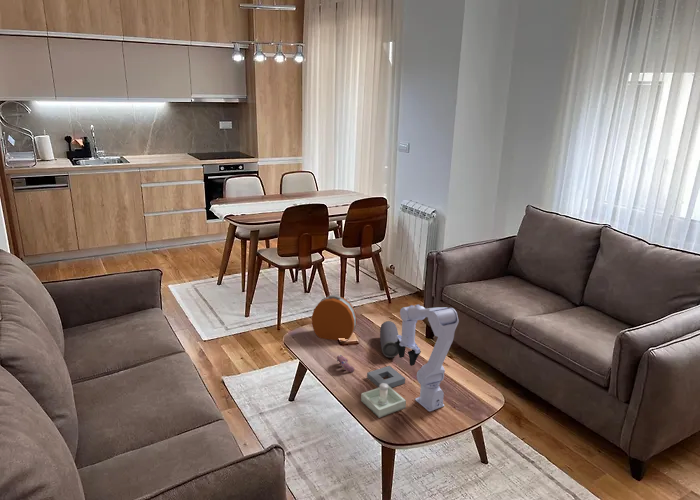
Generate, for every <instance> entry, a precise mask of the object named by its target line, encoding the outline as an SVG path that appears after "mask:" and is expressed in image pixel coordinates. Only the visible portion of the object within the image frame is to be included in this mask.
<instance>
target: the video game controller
mask: <svg viewBox="0 0 700 500" xmlns="http://www.w3.org/2000/svg"><path fill="white" fill-rule="evenodd" d="M348 361H349V360H348V359H347V358H346V357H345V356H343V355H341V354H340V355H337V356H336V362H337V363H339V364H340V365H341V368H342V370H344V371H347V372H349V373H354V371H355V367H353V366H351V365H350V364H349V363H348Z"/></svg>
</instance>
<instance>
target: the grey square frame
mask: <svg viewBox="0 0 700 500" xmlns="http://www.w3.org/2000/svg"><path fill="white" fill-rule="evenodd" d="M386 377H387V378H386ZM366 378H367V379H368V380H369V381H370V382H372V383H373V384H374V386H376V388H379V385H380V384H381V383H386V384H388V385H389V386H390V387H391V388H392V389H394V388H395V387H396V388H397V387H399V386H401V385H404V384H406V378H405V377H404V376H403V375H402V374H401V373H399V371H397V370H396V369H394V367H392V366H391V365H387V366H384V367H381V368H377V369H375V370H370V371H367V373H366ZM384 378H385V379H384Z"/></svg>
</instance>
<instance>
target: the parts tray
mask: <svg viewBox="0 0 700 500" xmlns="http://www.w3.org/2000/svg"><path fill="white" fill-rule="evenodd" d="M379 396H380V388H378V387H376V388H373V389H370V390H367V391H365V392H361V396H360V401H361V402H362V403H363V405H365V406H366V407H367V408H368V409H369V410H370V411H371V412H372V413H373V414H374V415H375V416H376V417H377V418H379V419H380V418H382V417H385V416H388V415H390V414H393V413H395V412H398V411H399V412H400V411H401V410H405V409H406V408H407V406H406V405H407V400H406V399H405V398H404V397H402V395H400V393H398V392H397V391H396V390H394V388H391V387H390V386H389V385H388V394H387V400H388V404H387V405H380V404H379Z"/></svg>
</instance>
